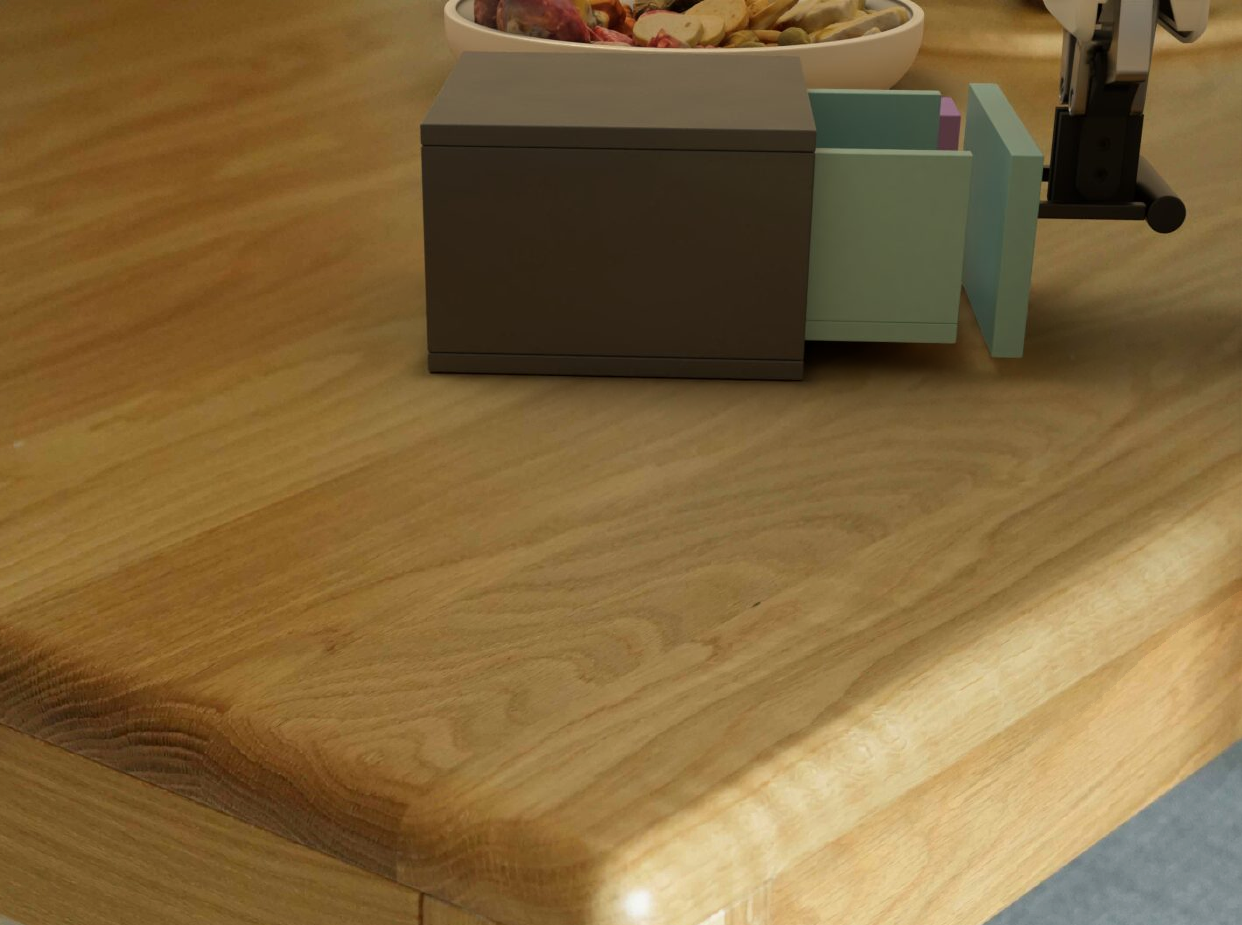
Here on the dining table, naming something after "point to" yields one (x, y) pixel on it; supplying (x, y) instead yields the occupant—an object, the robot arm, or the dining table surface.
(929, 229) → the drawer
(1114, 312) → the dining table surface
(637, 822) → the dining table surface
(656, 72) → the cabinet
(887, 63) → the bowl
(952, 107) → the block
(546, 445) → the dining table surface
